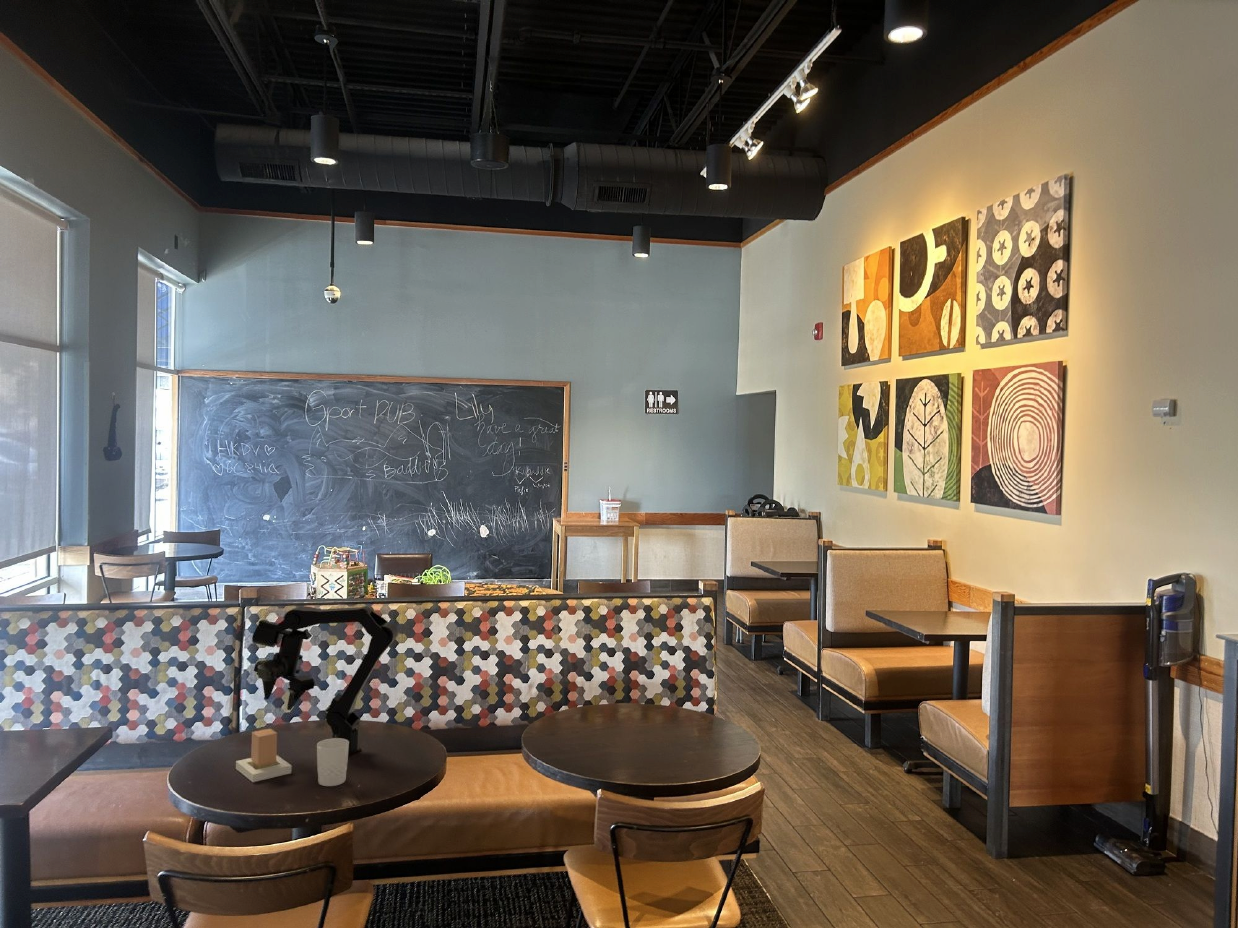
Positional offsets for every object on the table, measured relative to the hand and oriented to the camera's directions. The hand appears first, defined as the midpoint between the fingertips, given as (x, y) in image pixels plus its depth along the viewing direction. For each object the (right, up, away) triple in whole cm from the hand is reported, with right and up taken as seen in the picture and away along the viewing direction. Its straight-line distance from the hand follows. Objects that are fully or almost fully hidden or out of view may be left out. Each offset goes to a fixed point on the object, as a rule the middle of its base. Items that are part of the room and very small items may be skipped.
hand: (277, 704), depth 240 cm
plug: (+2, -13, -15) cm, 20 cm away
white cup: (+22, -14, -21) cm, 34 cm away
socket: (+2, -13, -15) cm, 20 cm away
